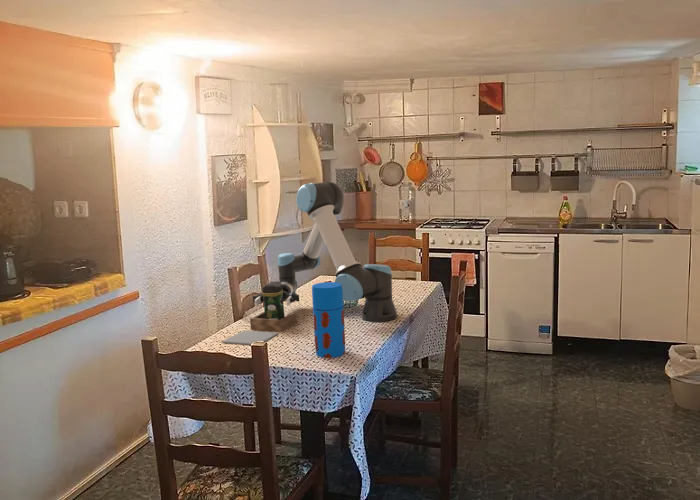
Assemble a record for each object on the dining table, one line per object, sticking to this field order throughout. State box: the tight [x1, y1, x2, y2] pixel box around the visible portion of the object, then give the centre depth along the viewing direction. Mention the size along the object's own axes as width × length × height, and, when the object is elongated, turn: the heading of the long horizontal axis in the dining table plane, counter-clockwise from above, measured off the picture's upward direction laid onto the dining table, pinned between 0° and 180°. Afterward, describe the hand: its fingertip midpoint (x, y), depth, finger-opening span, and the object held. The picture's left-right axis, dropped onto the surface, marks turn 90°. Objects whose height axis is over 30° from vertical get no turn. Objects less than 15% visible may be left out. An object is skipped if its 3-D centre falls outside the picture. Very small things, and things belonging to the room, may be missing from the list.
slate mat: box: [221, 330, 279, 346], centre depth 265 cm, size 16×16×1 cm
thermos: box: [311, 281, 346, 359], centre depth 240 cm, size 11×11×25 cm
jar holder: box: [249, 311, 298, 332], centre depth 283 cm, size 14×14×4 cm
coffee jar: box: [261, 281, 286, 320], centre depth 282 cm, size 10×8×19 cm
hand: (271, 303), depth 279 cm, fingers open, 13 cm apart
